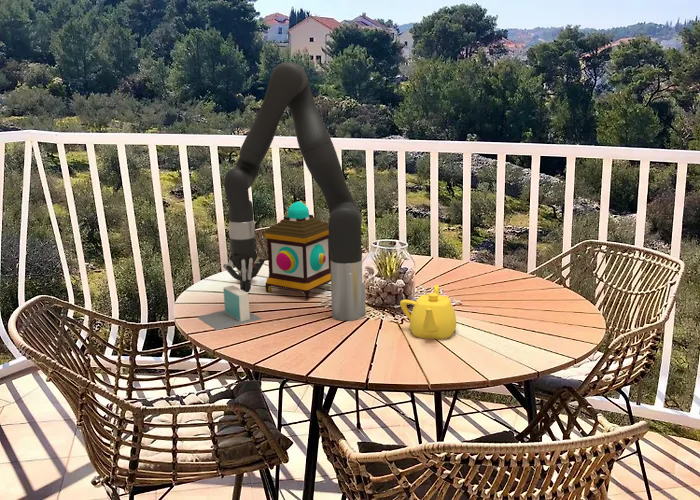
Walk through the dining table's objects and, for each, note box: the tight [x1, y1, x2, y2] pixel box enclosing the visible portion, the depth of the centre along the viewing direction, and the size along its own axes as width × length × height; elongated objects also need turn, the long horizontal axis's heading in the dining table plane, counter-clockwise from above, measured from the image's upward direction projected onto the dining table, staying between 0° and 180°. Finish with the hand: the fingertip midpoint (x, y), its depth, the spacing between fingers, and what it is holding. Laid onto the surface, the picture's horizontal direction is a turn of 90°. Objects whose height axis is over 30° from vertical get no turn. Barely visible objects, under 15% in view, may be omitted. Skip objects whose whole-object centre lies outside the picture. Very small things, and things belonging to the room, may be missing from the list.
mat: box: [196, 309, 263, 331], centre depth 195 cm, size 14×14×1 cm
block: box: [223, 285, 251, 321], centre depth 196 cm, size 3×10×8 cm, turn 37°
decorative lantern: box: [263, 201, 331, 301], centre depth 218 cm, size 20×20×30 cm
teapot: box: [399, 284, 457, 340], centre depth 182 cm, size 22×16×11 cm
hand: (245, 291), depth 197 cm, fingers closed
